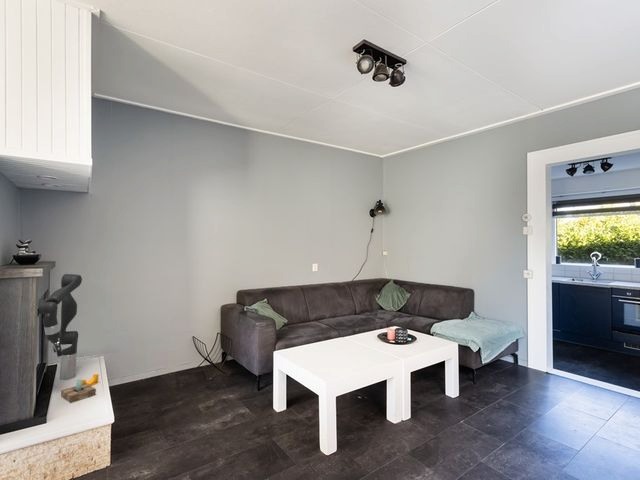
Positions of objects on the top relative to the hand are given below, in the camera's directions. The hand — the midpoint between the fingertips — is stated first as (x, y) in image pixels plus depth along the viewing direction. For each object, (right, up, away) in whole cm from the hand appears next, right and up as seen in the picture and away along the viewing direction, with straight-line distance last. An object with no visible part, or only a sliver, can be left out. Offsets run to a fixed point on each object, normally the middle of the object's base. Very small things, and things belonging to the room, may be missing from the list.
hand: (58, 354), depth 221 cm
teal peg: (+16, -26, -3) cm, 31 cm away
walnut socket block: (+16, -26, -3) cm, 31 cm away
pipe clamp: (+12, -26, +11) cm, 31 cm away
